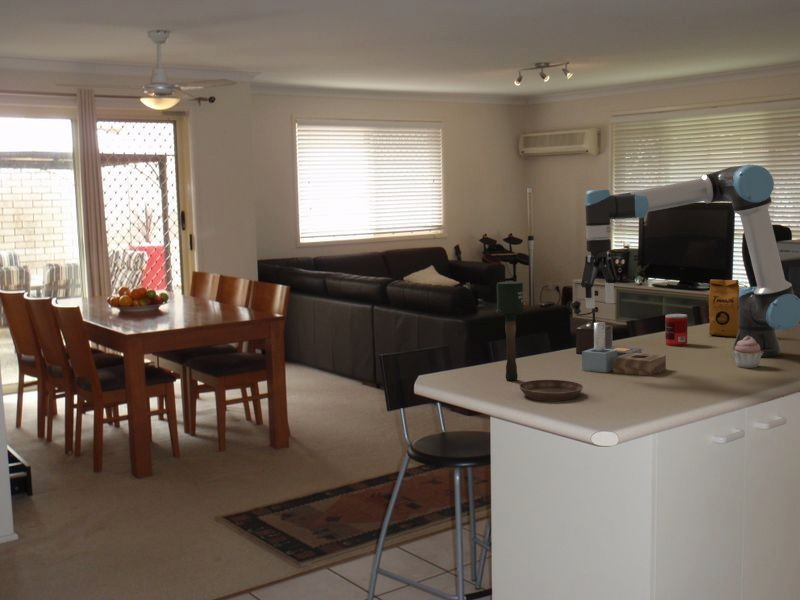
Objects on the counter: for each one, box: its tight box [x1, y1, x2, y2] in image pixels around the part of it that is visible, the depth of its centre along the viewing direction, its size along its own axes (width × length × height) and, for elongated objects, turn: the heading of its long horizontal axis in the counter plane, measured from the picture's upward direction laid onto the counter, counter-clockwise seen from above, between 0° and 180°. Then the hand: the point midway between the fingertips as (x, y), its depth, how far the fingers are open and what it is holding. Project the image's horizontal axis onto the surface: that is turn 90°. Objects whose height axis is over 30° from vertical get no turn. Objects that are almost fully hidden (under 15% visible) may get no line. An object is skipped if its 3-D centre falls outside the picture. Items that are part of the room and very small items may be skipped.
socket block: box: [613, 352, 667, 376], centre depth 281 cm, size 12×12×4 cm
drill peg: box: [594, 321, 606, 353], centre depth 286 cm, size 4×4×15 cm
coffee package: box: [708, 278, 740, 338], centre depth 346 cm, size 10×12×22 cm
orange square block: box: [613, 348, 631, 352], centre depth 296 cm, size 5×5×4 cm
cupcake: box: [731, 336, 763, 369], centre depth 282 cm, size 9×9×10 cm
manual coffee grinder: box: [570, 300, 613, 355], centre depth 320 cm, size 16×11×18 cm
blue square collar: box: [581, 348, 617, 373], centre depth 286 cm, size 8×8×6 cm
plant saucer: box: [518, 379, 584, 402], centre depth 250 cm, size 18×18×3 cm
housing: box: [607, 345, 643, 357], centre depth 296 cm, size 10×10×4 cm
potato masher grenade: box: [495, 281, 525, 382], centre depth 272 cm, size 8×9×30 cm
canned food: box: [664, 313, 688, 347], centre depth 329 cm, size 8×8×11 cm
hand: (600, 305), depth 284 cm, fingers open, 13 cm apart
